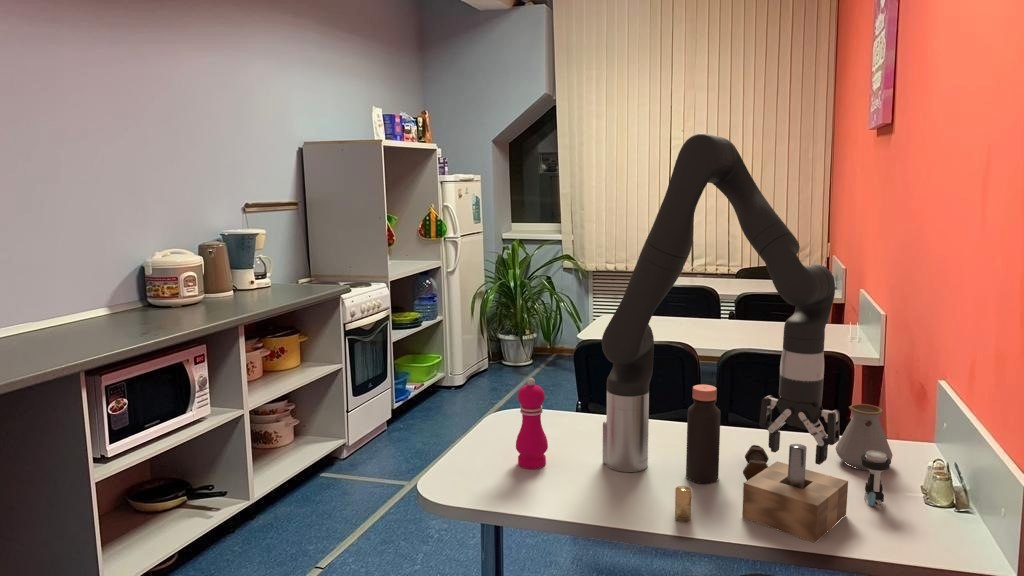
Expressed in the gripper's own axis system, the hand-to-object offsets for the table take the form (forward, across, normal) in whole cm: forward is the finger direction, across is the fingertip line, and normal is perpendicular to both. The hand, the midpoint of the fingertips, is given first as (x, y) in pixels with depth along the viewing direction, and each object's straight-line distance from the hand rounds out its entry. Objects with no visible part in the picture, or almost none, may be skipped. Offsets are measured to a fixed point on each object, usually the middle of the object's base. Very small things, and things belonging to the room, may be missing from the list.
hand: (796, 457), depth 141 cm
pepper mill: (+13, +54, +15) cm, 57 cm away
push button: (+12, -9, -16) cm, 22 cm away
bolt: (+12, +15, -15) cm, 25 cm away
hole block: (+12, 0, 0) cm, 12 cm away
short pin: (+12, +15, +15) cm, 24 cm away
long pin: (+12, 0, 0) cm, 12 cm away
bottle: (+12, +22, -4) cm, 25 cm away
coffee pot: (+12, -2, -30) cm, 33 cm away
